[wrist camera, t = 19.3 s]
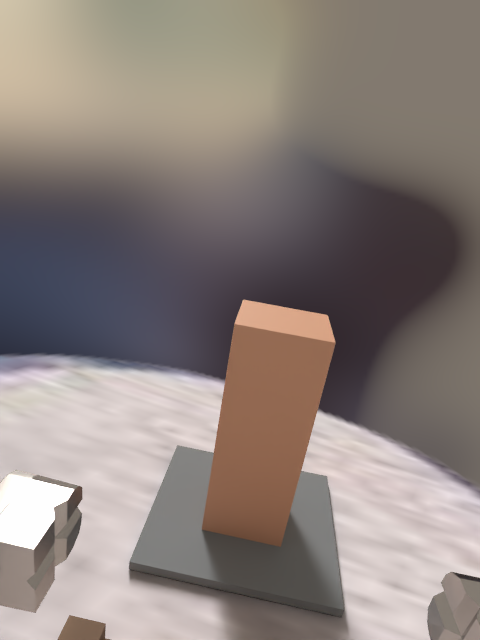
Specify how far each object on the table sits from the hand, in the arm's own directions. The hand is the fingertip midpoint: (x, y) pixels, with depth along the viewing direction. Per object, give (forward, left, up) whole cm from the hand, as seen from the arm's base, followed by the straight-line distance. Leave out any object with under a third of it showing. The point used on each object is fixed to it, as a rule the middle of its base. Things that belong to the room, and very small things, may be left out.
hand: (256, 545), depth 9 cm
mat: (+1, +13, -14) cm, 19 cm away
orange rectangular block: (0, +13, -14) cm, 19 cm away
